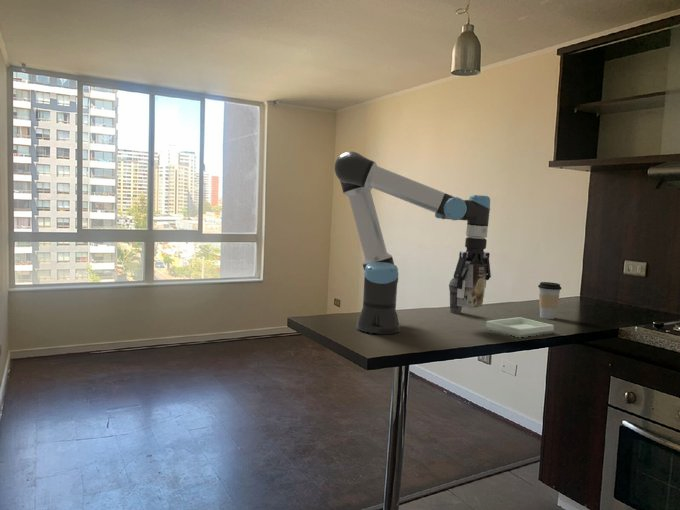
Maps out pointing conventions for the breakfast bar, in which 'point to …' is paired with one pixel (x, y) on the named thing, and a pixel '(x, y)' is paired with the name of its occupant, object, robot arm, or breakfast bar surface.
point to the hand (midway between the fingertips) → (470, 297)
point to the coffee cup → (548, 299)
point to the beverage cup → (454, 297)
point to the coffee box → (473, 286)
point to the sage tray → (519, 327)
